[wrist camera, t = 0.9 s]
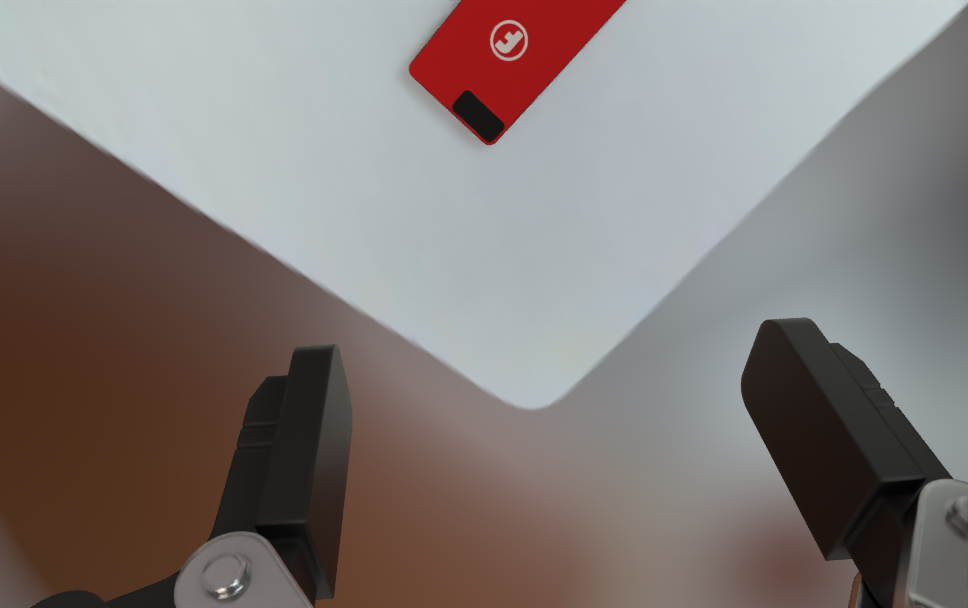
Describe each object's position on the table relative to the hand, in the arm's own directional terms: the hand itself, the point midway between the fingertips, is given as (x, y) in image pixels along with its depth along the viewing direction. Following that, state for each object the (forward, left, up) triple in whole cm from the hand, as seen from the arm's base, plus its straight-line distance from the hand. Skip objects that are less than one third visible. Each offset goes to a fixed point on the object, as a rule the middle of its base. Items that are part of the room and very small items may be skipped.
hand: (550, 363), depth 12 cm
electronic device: (-6, 0, -24) cm, 24 cm away
